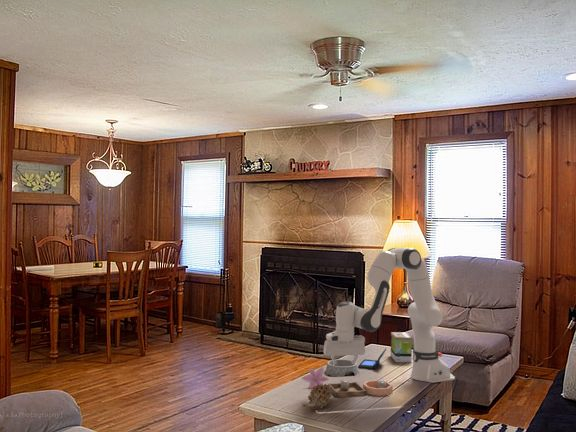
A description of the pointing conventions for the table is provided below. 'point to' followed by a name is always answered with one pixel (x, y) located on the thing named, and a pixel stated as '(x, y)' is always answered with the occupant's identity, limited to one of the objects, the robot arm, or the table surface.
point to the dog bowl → (341, 368)
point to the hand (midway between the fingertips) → (344, 364)
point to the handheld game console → (370, 363)
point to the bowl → (373, 388)
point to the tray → (353, 390)
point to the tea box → (401, 347)
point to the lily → (315, 377)
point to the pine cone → (319, 396)
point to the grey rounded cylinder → (381, 384)
